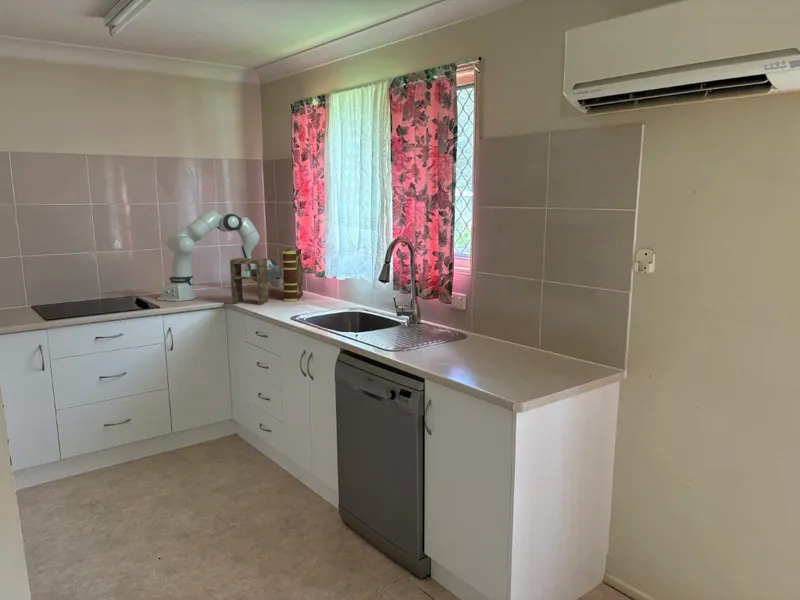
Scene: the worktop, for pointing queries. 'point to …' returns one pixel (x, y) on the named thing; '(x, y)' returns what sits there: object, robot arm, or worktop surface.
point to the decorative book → (292, 275)
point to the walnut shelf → (260, 276)
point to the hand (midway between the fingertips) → (262, 265)
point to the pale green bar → (249, 272)
